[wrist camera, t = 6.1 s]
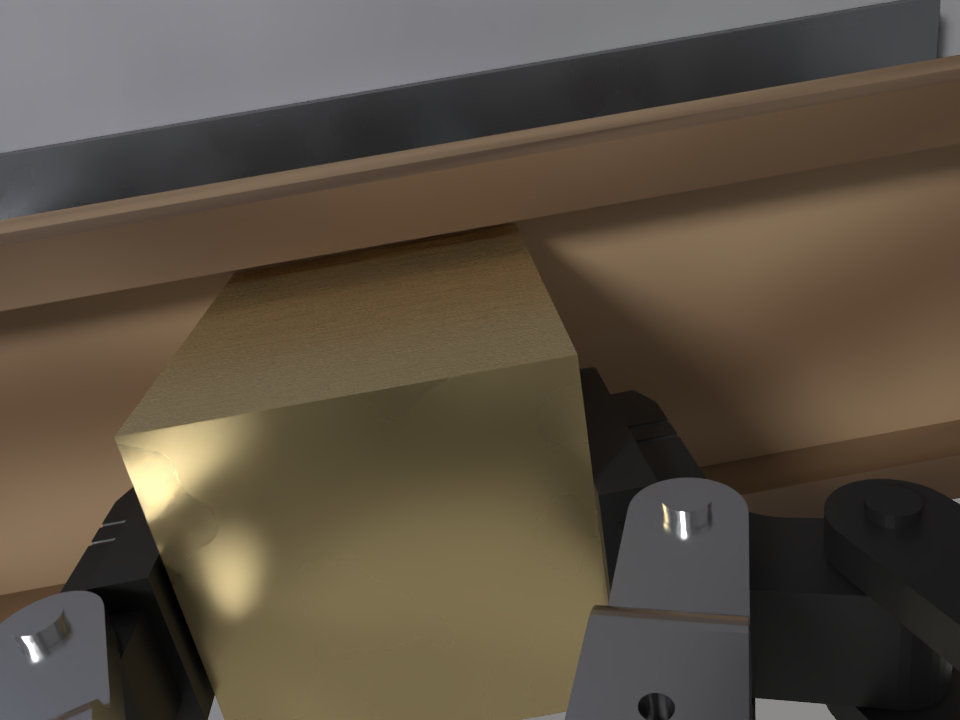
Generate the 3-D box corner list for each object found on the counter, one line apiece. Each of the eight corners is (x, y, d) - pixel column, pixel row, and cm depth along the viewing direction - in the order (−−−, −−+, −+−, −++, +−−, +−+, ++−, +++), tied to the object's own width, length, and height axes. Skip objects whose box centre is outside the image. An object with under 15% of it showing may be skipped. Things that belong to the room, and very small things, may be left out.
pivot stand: (-72, 165, 24) (-347, 247, 15) (916, -3, 24) (1202, -18, 16) (40, 431, 27) (-130, 623, 19) (900, 278, 28) (1126, 393, 19)
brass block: (233, 274, 14) (113, 437, 9) (515, 223, 14) (577, 354, 9) (303, 511, 16) (244, 768, 11) (551, 467, 16) (620, 700, 11)
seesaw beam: (-356, 280, 15) (-514, 335, 12) (1219, 10, 15) (1384, 7, 13) (-154, 621, 18) (-247, 721, 15) (1147, 382, 19) (1267, 440, 16)
